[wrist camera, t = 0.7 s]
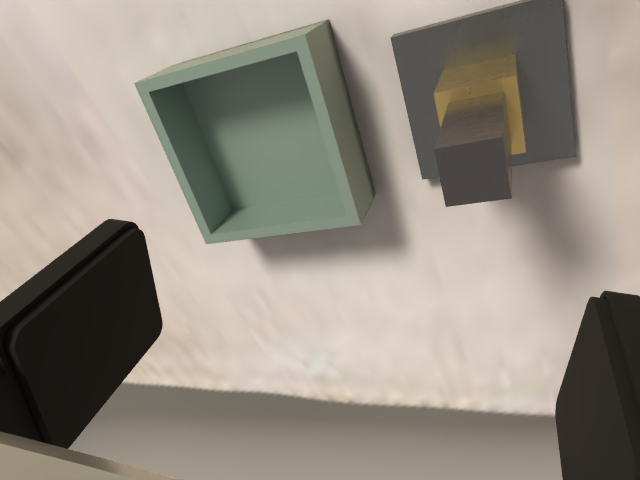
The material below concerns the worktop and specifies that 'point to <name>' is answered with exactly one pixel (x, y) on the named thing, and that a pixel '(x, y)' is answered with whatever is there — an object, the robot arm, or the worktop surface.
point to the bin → (263, 137)
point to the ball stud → (483, 45)
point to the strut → (479, 130)
